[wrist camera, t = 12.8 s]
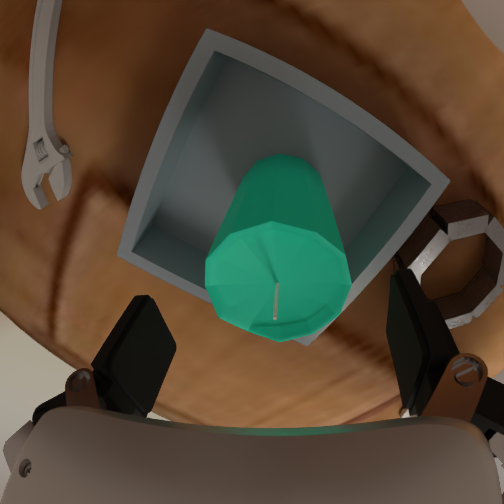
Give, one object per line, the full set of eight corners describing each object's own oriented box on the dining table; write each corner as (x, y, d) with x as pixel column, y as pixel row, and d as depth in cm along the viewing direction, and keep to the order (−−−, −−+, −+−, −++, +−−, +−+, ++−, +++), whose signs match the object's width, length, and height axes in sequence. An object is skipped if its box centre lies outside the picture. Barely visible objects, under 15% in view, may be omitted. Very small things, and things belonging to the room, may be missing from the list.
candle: (261, 138, 18) (226, 211, 8) (341, 178, 19) (394, 290, 9) (227, 212, 22) (174, 335, 11) (300, 245, 22) (303, 382, 12)
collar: (512, 244, 20) (527, 260, 18) (441, 323, 26) (450, 343, 24) (451, 175, 19) (470, 188, 16) (368, 280, 24) (375, 302, 22)
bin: (419, 159, 18) (450, 180, 14) (306, 304, 27) (307, 346, 22) (225, 41, 16) (206, 28, 12) (144, 224, 24) (116, 255, 20)
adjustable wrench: (56, -35, 11) (45, -38, 10) (109, -51, 11) (99, -57, 10) (33, 197, 24) (23, 204, 23) (77, 206, 24) (67, 214, 23)
